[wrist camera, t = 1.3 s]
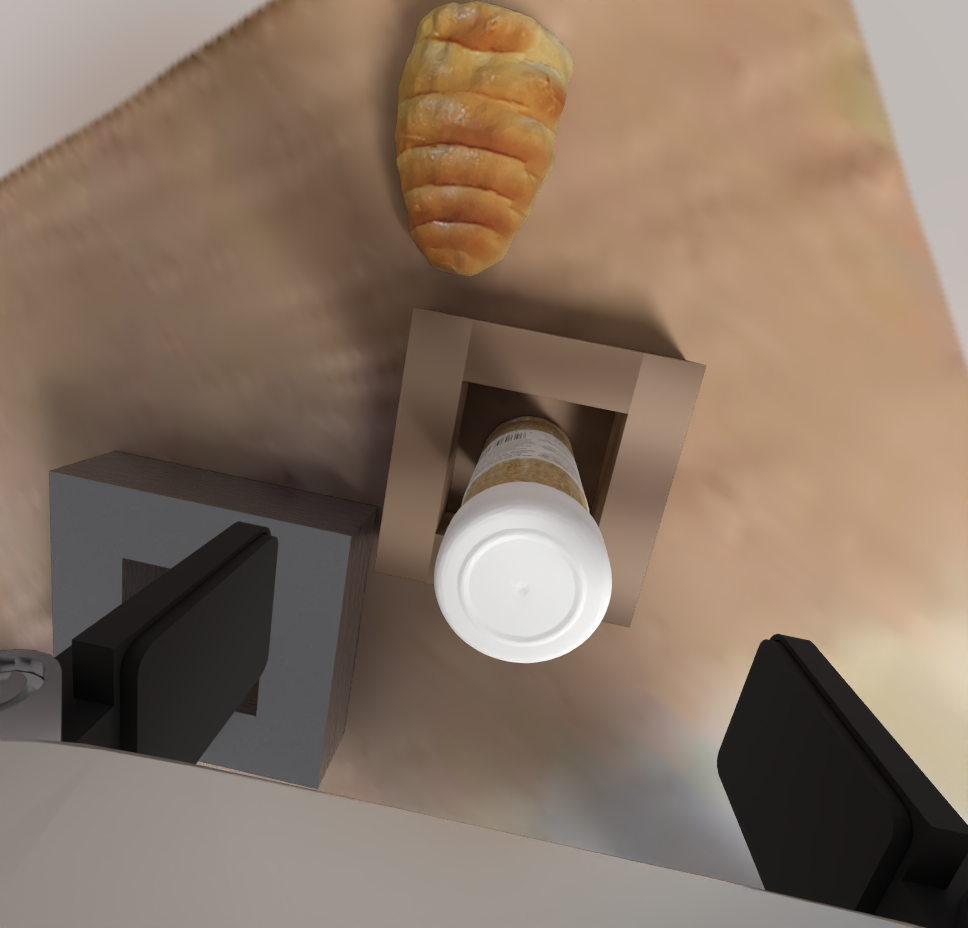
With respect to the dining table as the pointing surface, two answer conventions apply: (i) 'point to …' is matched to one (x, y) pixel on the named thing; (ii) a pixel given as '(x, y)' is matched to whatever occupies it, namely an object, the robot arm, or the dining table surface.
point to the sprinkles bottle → (524, 550)
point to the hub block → (184, 529)
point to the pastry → (477, 130)
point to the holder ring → (548, 373)
